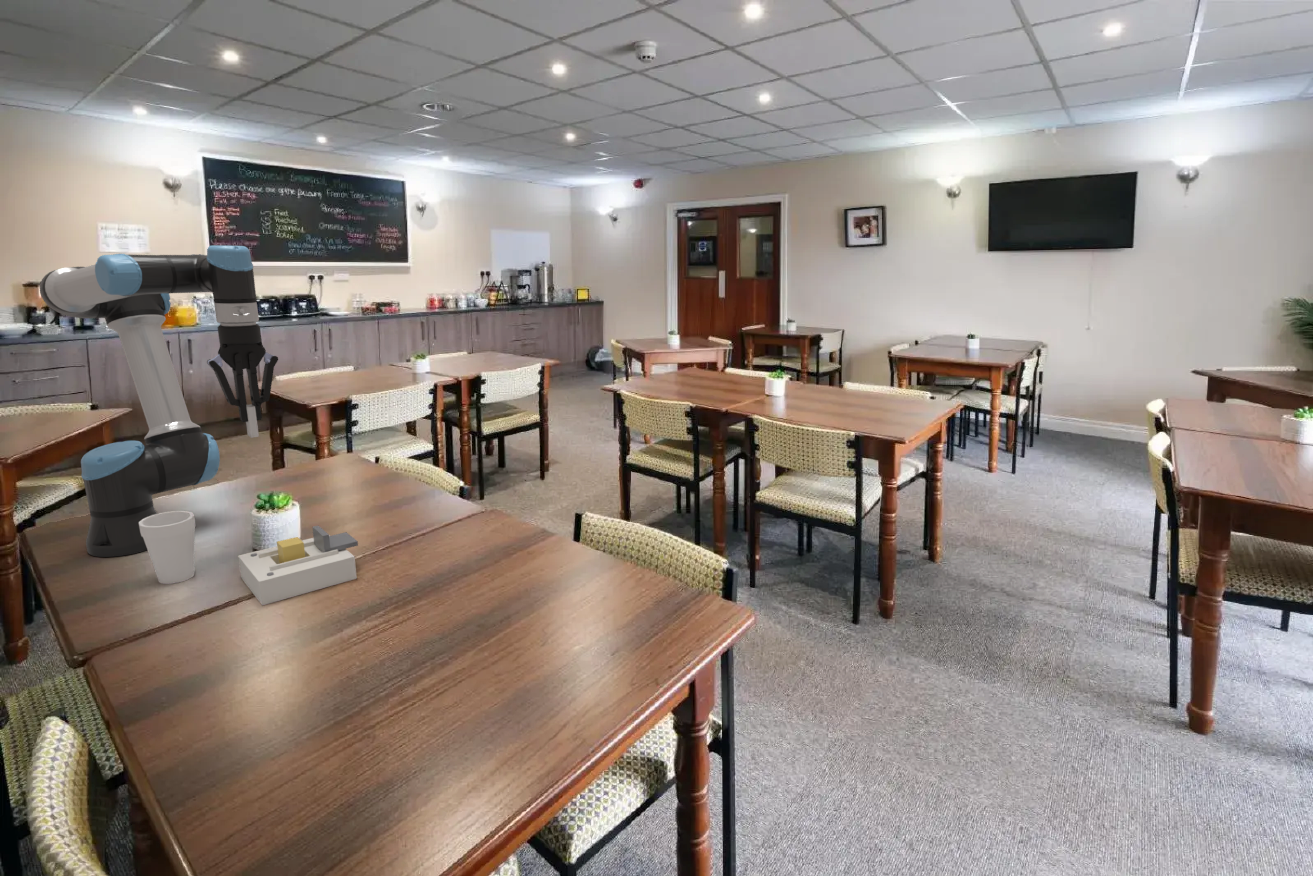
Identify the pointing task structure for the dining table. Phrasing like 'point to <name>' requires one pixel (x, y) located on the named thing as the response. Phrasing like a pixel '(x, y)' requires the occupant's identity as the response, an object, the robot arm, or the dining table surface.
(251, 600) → the dining table surface
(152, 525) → the foam cup
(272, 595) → the socket
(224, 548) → the dining table surface
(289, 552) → the plug
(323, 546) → the shutter
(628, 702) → the dining table surface
